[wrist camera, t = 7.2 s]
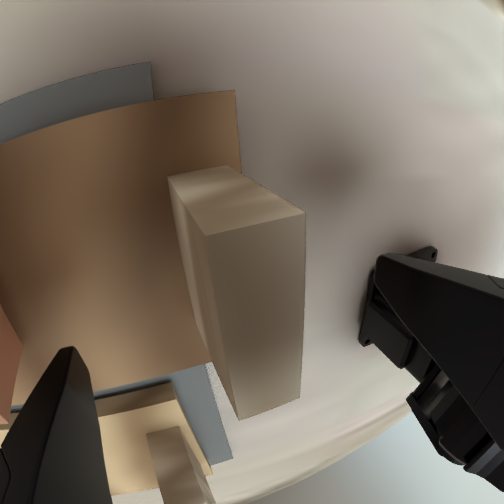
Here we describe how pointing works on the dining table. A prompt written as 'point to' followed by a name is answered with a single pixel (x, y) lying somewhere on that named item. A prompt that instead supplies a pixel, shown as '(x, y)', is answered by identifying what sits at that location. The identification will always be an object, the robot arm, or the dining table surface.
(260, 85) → the dining table surface
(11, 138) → the lane mat
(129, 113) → the darker brown strip
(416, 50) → the dining table surface
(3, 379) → the block
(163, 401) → the tan piece
